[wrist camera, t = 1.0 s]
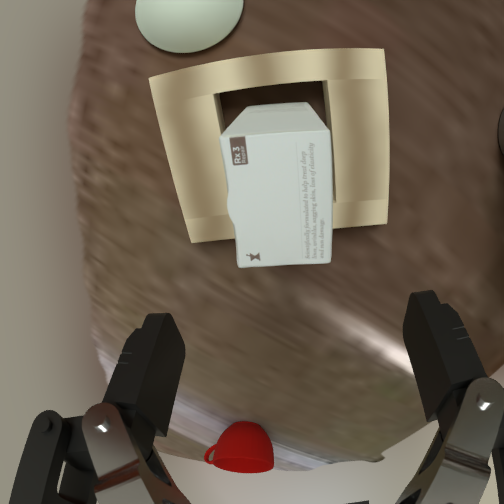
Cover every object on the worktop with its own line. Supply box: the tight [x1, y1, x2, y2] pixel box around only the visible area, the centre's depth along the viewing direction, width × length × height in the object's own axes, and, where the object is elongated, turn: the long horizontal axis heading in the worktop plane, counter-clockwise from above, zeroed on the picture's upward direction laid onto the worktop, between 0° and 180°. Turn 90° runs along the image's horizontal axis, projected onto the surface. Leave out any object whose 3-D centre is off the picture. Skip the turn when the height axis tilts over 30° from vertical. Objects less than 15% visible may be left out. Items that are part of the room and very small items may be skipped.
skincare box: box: [219, 102, 333, 268], centre depth 23 cm, size 8×6×15 cm
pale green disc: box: [135, 0, 244, 53], centre depth 21 cm, size 10×10×1 cm
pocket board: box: [149, 48, 389, 243], centre depth 28 cm, size 20×17×3 cm
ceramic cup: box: [204, 421, 274, 473], centre depth 60 cm, size 13×17×10 cm
